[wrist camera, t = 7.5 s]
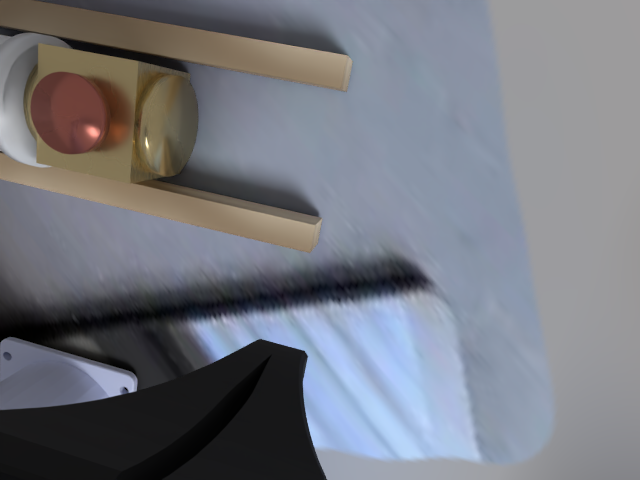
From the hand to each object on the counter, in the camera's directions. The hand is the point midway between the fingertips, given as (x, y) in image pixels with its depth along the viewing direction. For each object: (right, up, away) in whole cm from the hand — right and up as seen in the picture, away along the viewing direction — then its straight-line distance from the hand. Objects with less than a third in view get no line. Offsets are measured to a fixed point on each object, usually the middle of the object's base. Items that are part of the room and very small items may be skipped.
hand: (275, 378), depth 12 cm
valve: (-7, +9, +9) cm, 15 cm away
